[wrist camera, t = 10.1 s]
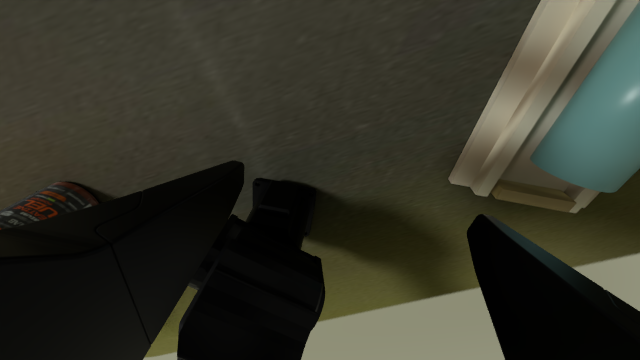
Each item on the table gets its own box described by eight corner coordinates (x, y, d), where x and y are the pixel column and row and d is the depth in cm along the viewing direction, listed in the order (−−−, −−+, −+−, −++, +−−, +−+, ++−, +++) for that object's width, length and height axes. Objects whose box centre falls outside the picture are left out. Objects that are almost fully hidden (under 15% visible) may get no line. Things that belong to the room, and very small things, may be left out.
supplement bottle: (105, 194, 29) (-17, 278, 19) (104, 225, 32) (-2, 311, 22) (51, 170, 28) (-106, 247, 18) (55, 205, 31) (-78, 285, 21)
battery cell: (576, 160, 20) (639, 198, 16) (515, 150, 20) (562, 185, 15) (713, -6, 14) (874, -18, 10) (628, -21, 14) (753, -40, 10)
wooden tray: (577, 202, 22) (601, 221, 20) (448, 178, 23) (458, 195, 20) (828, -68, 13) (927, -87, 10) (596, -107, 13) (646, -133, 11)
